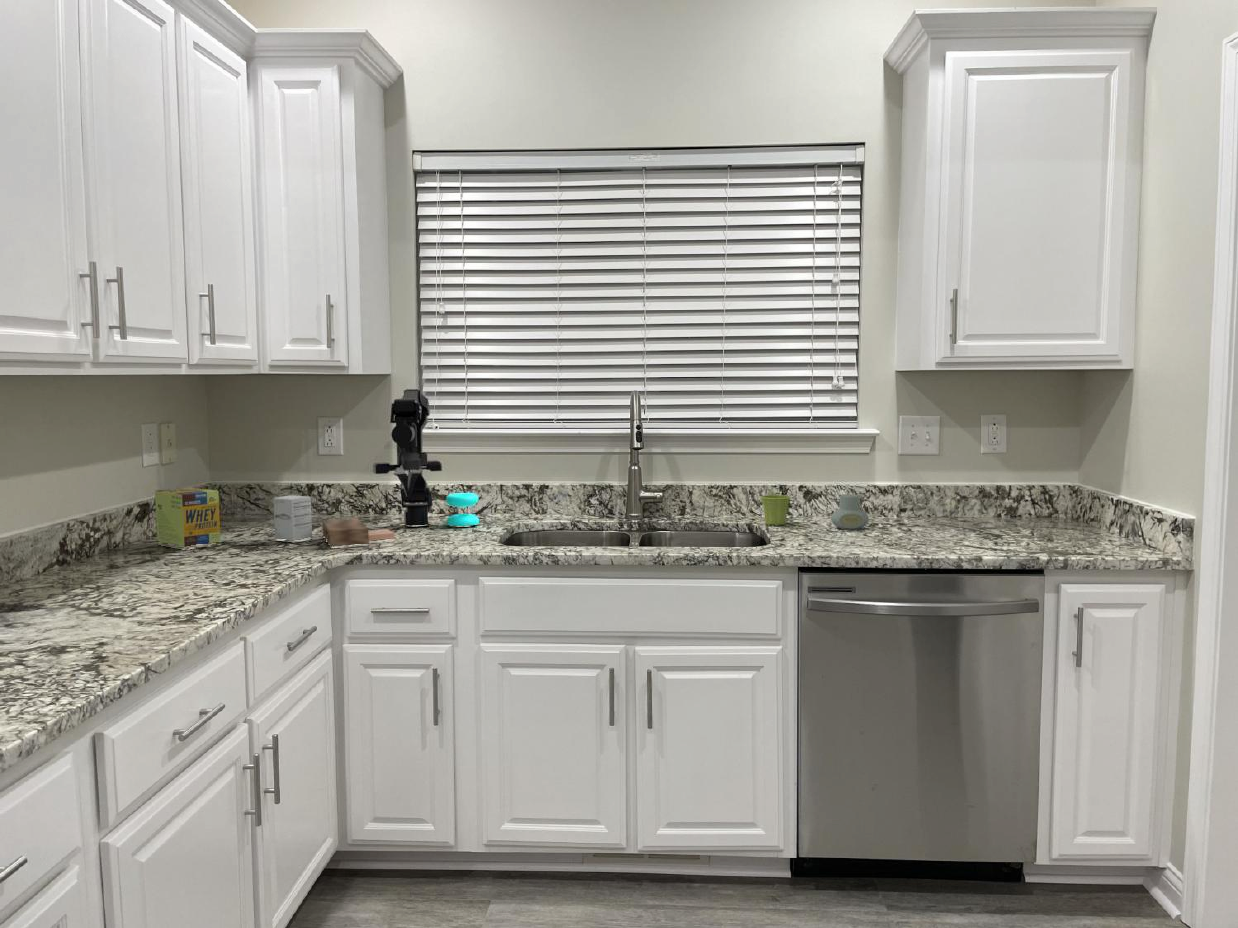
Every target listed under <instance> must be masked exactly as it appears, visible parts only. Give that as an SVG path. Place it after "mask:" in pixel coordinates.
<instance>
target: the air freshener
mask: <svg viewBox="0 0 1238 928" xmlns="http://www.w3.org/2000/svg"><path fill="white" fill-rule="evenodd" d="M830 520H831V523H832V524H833V525H834V526H835V527H838V528H839V529H842V530H845V529H846V531H856V530H859V529H860V530H861V529H862V528H864V527H866V526H867V525H868V524H869V521H870V516H869V515H868V514H867V511H864V510H863V509H861V496H860V495H859V494H853V493H852V494H851V493H845V494H841V495H840V496H839V508H838V509H836V510H835V511H833V512H832V514H831V516H830Z"/></svg>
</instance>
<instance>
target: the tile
mask: <svg viewBox="0 0 1238 928" xmlns="http://www.w3.org/2000/svg"><path fill="white" fill-rule="evenodd" d="M368 535H369V541H371V540H379V539H395V532H394V531H391V530H389V529H388V528H385V529H375V530H374V529H373V530H368Z"/></svg>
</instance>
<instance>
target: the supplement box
mask: <svg viewBox="0 0 1238 928" xmlns="http://www.w3.org/2000/svg"><path fill="white" fill-rule="evenodd" d="M273 515H274V516H273V518H274V520H273V521H274V522H273V523H274V540H275V539H288V540H296V539H304V538H308V537H312V538H313V529H312V528H313V525H312V497H311V496H306V495H305V496H304V495H284V496H277V497H274V498H273Z"/></svg>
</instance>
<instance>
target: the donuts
mask: <svg viewBox="0 0 1238 928" xmlns="http://www.w3.org/2000/svg"><path fill="white" fill-rule="evenodd" d="M478 501H479V496H478V494H476V493H472V492H457V493H451V494H448V495H447V496H446V498H445V502H446V503H447V505H449V506H452V507H455V508H465V507H467V508H468V507H473V506H474V505H476V504H478ZM479 523H480V519H479V517H478V516H477V515H475V514H472V513H457V514H456V513H455V514H453V515H450V516H449V517H448V518H447V519H446V525H447V526H448V525H456V526H466V525H477V524H478V525H479ZM478 525H477V526H478Z"/></svg>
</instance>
